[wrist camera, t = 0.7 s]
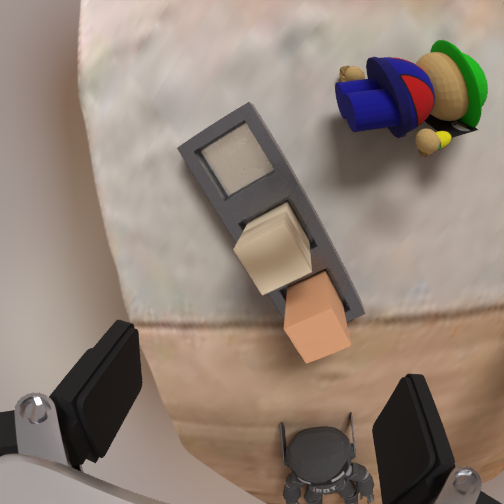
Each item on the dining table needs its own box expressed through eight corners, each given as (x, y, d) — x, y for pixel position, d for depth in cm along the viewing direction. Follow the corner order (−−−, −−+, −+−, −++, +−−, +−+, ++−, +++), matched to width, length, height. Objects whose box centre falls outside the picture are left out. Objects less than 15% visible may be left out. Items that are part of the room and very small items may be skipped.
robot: (294, 521, 48) (254, 477, 35) (296, 483, 57) (261, 420, 44) (373, 512, 44) (379, 463, 31) (370, 473, 53) (370, 404, 40)
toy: (378, 200, 24) (515, 153, 20) (361, 114, 17) (528, 74, 13) (335, 120, 31) (451, 86, 27) (311, 50, 24) (445, 19, 20)
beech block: (309, 238, 32) (312, 272, 24) (270, 258, 33) (262, 295, 25) (287, 200, 30) (284, 222, 23) (248, 221, 32) (233, 249, 24)
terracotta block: (341, 301, 33) (351, 345, 26) (306, 317, 35) (306, 363, 27) (324, 268, 32) (331, 308, 25) (287, 286, 34) (283, 328, 26)
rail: (361, 301, 34) (365, 313, 32) (298, 329, 37) (298, 342, 34) (253, 104, 29) (249, 101, 26) (186, 146, 31) (177, 148, 29)
